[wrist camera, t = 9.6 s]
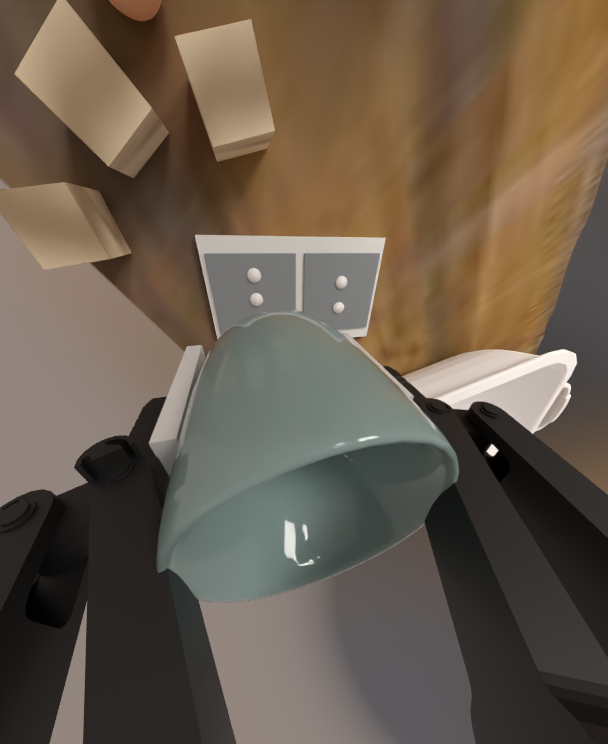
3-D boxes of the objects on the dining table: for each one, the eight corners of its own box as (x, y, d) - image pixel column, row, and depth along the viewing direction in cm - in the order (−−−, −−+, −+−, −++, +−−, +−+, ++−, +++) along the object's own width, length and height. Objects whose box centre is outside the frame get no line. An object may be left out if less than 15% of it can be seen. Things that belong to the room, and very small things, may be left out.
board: (195, 234, 21) (193, 235, 20) (381, 237, 25) (388, 238, 24) (220, 347, 27) (219, 352, 26) (363, 333, 32) (368, 337, 31)
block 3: (188, 79, 16) (174, 36, 12) (247, 65, 16) (251, 19, 12) (217, 162, 18) (213, 147, 15) (267, 148, 19) (275, 130, 15)
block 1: (66, 109, 15) (14, 73, 12) (104, 51, 14) (60, -7, 11) (134, 178, 18) (108, 166, 14) (169, 132, 17) (151, 108, 13)
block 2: (64, 182, 14) (99, 190, 18) (-17, 191, 13) (37, 198, 17) (109, 259, 17) (132, 253, 20) (44, 270, 16) (79, 261, 20)
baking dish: (513, 300, 36) (622, 330, 26) (474, 412, 53) (532, 456, 43) (323, 372, 34) (361, 435, 24) (346, 464, 51) (374, 524, 41)
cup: (241, 417, 16) (249, 615, 8) (175, 320, 11) (25, 570, 3) (339, 378, 16) (443, 528, 8) (316, 270, 12) (506, 372, 4)
